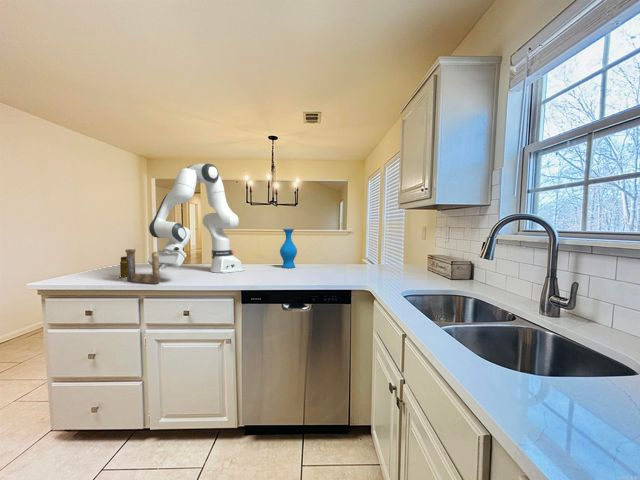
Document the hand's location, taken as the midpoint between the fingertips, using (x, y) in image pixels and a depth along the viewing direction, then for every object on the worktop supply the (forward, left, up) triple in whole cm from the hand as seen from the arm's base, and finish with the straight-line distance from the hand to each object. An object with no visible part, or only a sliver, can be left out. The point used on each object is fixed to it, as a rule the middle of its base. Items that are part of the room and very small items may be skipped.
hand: (157, 271), depth 151 cm
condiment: (+17, -29, -7) cm, 34 cm away
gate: (+7, -5, -6) cm, 10 cm away
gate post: (+13, -15, -6) cm, 21 cm away
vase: (-83, -16, -6) cm, 85 cm away
